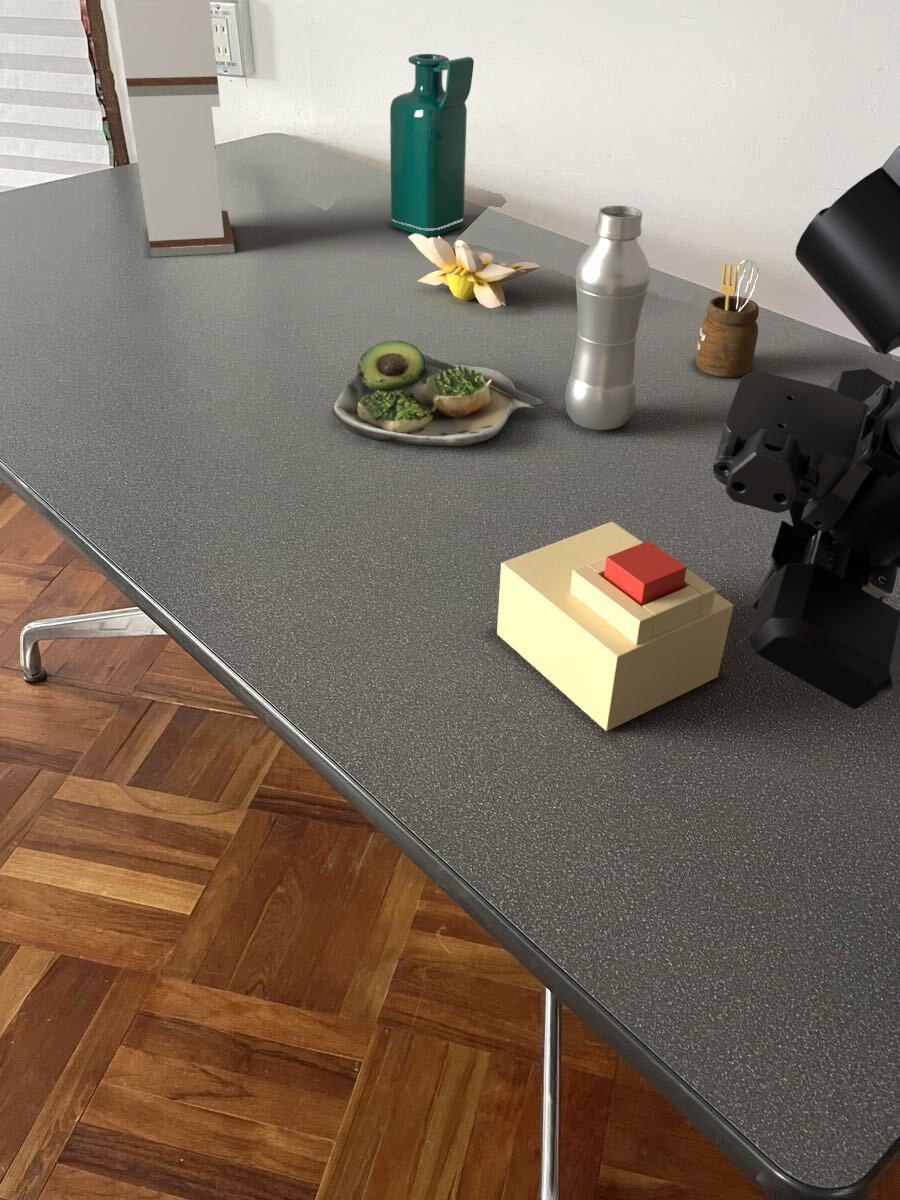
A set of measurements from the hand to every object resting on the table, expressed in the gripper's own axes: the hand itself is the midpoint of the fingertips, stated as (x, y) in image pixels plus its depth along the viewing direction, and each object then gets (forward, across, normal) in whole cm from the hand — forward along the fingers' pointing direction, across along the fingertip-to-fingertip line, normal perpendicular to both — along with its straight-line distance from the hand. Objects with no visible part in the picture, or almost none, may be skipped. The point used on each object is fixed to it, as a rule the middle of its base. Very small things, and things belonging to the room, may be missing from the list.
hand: (761, 606), depth 58 cm
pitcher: (+57, -84, -40) cm, 109 cm away
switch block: (+17, -4, -3) cm, 18 cm away
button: (+9, -5, -4) cm, 11 cm away
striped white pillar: (+63, -64, -66) cm, 112 cm away
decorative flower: (+45, -62, -27) cm, 82 cm away
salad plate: (+35, -33, -25) cm, 54 cm away
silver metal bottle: (+30, -37, -9) cm, 48 cm away
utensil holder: (+30, -55, 0) cm, 63 cm away
